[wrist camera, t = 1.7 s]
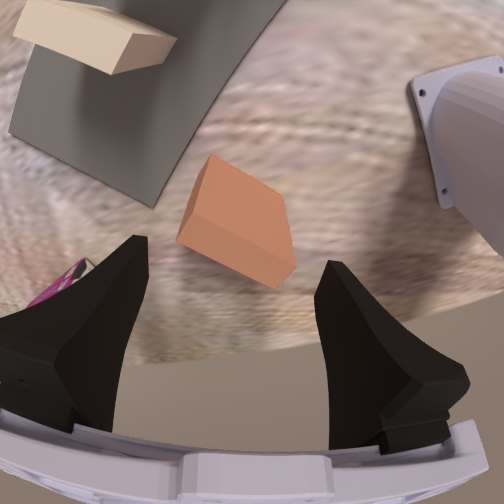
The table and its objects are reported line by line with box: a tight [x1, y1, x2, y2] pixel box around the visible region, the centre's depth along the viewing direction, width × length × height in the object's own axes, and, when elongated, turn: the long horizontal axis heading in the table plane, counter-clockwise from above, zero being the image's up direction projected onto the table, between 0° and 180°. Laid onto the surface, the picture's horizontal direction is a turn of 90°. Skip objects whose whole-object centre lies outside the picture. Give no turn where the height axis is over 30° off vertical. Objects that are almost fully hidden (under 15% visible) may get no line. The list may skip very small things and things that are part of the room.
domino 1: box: [13, 0, 178, 75], centre depth 10 cm, size 2×5×7 cm, turn 57°
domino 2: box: [176, 154, 297, 290], centre depth 16 cm, size 2×5×7 cm, turn 57°
